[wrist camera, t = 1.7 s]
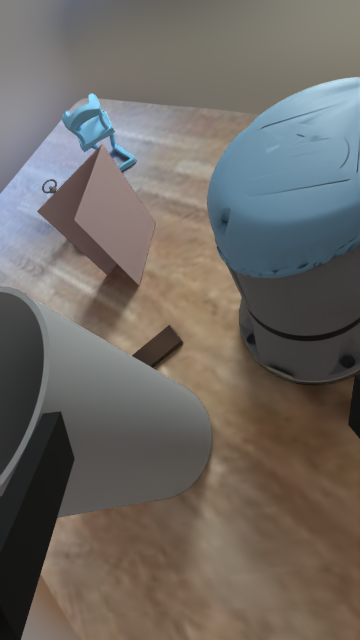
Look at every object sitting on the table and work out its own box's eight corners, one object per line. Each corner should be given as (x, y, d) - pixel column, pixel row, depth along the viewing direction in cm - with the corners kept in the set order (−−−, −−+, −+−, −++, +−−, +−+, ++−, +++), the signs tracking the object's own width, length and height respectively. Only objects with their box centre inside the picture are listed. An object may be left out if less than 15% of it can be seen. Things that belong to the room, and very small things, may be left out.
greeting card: (152, 221, 52) (98, 141, 40) (181, 240, 48) (132, 159, 36) (104, 272, 52) (34, 208, 39) (129, 295, 48) (61, 233, 35)
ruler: (171, 326, 43) (169, 324, 42) (183, 342, 41) (181, 340, 41) (36, 437, 44) (31, 437, 43) (42, 457, 42) (37, 457, 42)
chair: (126, 139, 64) (90, 77, 54) (137, 162, 60) (99, 99, 50) (94, 160, 66) (53, 103, 55) (102, 184, 61) (59, 127, 51)
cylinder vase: (164, 363, 41) (-5, 252, 20) (237, 435, 34) (95, 380, 13) (98, 438, 40) (-146, 404, 20) (159, 526, 34) (-118, 619, 13)
